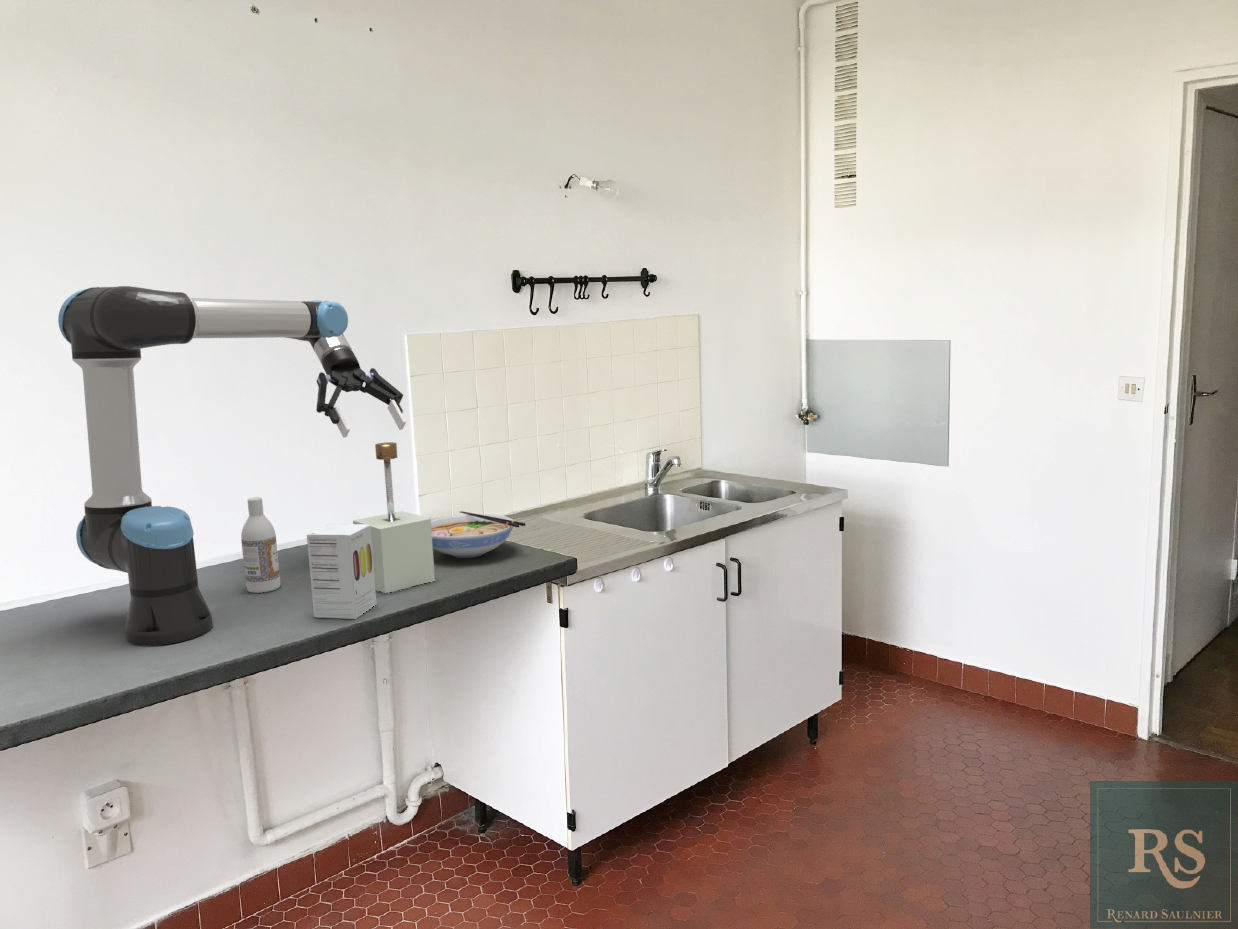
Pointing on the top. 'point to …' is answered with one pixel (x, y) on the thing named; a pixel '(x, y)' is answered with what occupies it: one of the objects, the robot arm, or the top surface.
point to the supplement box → (341, 570)
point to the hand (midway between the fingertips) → (375, 429)
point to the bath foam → (259, 550)
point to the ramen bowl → (470, 533)
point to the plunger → (387, 472)
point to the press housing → (401, 550)
